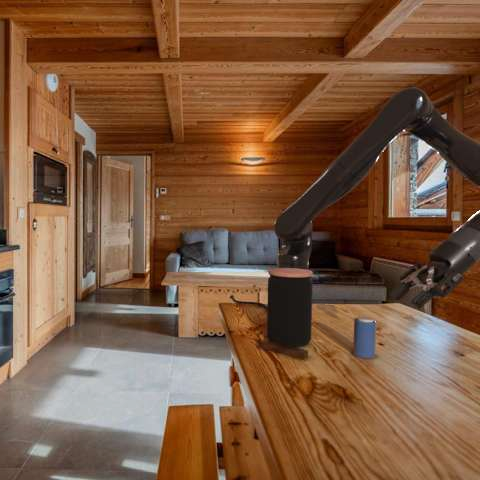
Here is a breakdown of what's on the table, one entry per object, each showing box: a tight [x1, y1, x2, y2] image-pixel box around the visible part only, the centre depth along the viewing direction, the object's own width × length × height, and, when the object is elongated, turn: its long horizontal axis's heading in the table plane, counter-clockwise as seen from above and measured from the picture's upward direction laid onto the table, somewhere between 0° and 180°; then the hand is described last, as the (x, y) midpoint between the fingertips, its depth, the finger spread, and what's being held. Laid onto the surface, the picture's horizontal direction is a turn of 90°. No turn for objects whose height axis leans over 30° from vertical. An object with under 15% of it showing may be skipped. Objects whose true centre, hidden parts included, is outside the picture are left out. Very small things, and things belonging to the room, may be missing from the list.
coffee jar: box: [266, 267, 314, 348], centre depth 97 cm, size 11×11×18 cm
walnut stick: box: [258, 339, 309, 360], centre depth 90 cm, size 11×2×2 cm, turn 46°
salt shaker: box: [352, 315, 377, 359], centre depth 88 cm, size 4×4×8 cm
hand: (403, 301), depth 87 cm, fingers open, 8 cm apart
